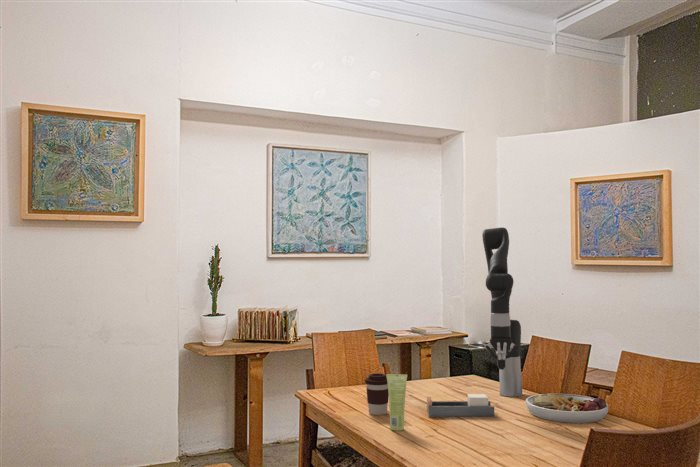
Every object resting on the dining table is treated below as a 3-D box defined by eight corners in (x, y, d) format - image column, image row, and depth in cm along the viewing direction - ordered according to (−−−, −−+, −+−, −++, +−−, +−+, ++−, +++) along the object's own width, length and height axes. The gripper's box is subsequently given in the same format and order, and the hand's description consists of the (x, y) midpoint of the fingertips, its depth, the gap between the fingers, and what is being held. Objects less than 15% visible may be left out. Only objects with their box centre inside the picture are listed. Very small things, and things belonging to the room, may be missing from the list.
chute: (490, 411, 237) (489, 396, 237) (494, 417, 228) (494, 401, 228) (426, 411, 238) (426, 396, 238) (428, 417, 229) (428, 401, 230)
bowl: (518, 419, 225) (518, 398, 225) (534, 402, 251) (533, 384, 252) (605, 429, 211) (604, 407, 211) (611, 410, 238) (611, 390, 238)
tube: (398, 426, 217) (397, 372, 218) (408, 429, 213) (407, 374, 214) (387, 429, 214) (386, 374, 215) (396, 432, 210) (396, 376, 211)
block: (485, 409, 236) (485, 394, 236) (488, 413, 230) (488, 397, 230) (467, 409, 236) (467, 394, 236) (470, 413, 230) (469, 397, 230)
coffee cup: (388, 416, 231) (388, 377, 231) (363, 415, 233) (363, 376, 233) (392, 410, 240) (391, 372, 241) (367, 409, 242) (367, 372, 243)
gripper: (515, 323, 238) (516, 367, 237) (481, 323, 238) (482, 367, 237) (519, 325, 230) (520, 370, 229) (485, 325, 231) (486, 370, 230)
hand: (501, 369), depth 233 cm, fingers closed
